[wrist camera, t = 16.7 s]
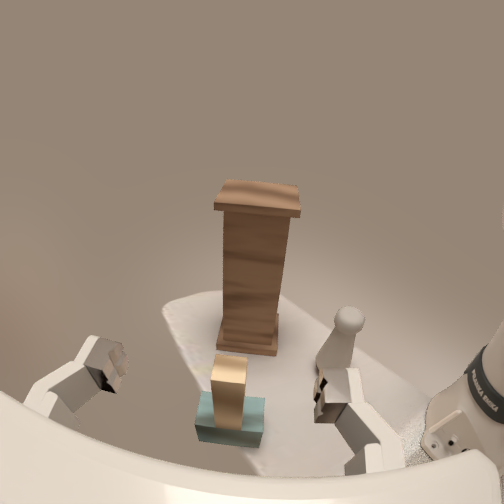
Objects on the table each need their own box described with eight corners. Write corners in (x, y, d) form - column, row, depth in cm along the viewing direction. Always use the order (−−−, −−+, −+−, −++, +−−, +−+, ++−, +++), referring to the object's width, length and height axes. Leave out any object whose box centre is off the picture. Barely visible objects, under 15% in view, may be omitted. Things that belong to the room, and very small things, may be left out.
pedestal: (276, 356, 46) (300, 210, 33) (216, 349, 47) (213, 202, 33) (277, 319, 54) (297, 185, 40) (225, 313, 54) (227, 179, 41)
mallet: (273, 386, 23) (275, 343, 27) (182, 375, 23) (194, 335, 28) (258, 447, 32) (260, 417, 36) (199, 440, 32) (204, 411, 37)
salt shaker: (330, 350, 48) (350, 294, 41) (352, 371, 44) (379, 316, 37) (305, 366, 45) (323, 309, 38) (329, 388, 41) (354, 334, 34)
